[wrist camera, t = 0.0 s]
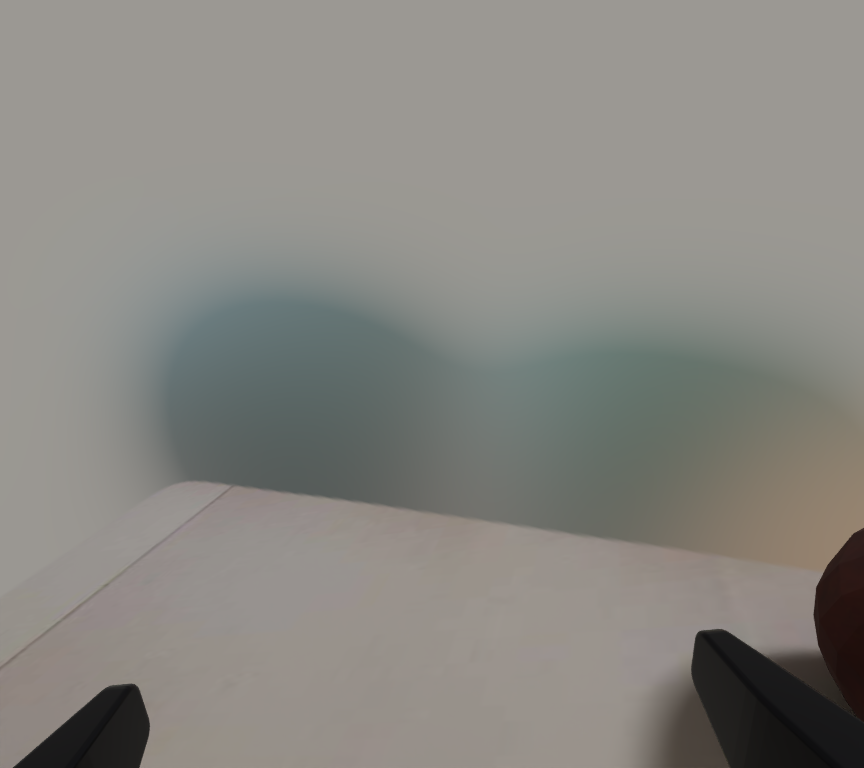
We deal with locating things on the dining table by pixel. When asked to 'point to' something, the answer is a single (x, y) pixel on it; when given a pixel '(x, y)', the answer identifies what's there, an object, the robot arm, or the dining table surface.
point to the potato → (844, 620)
